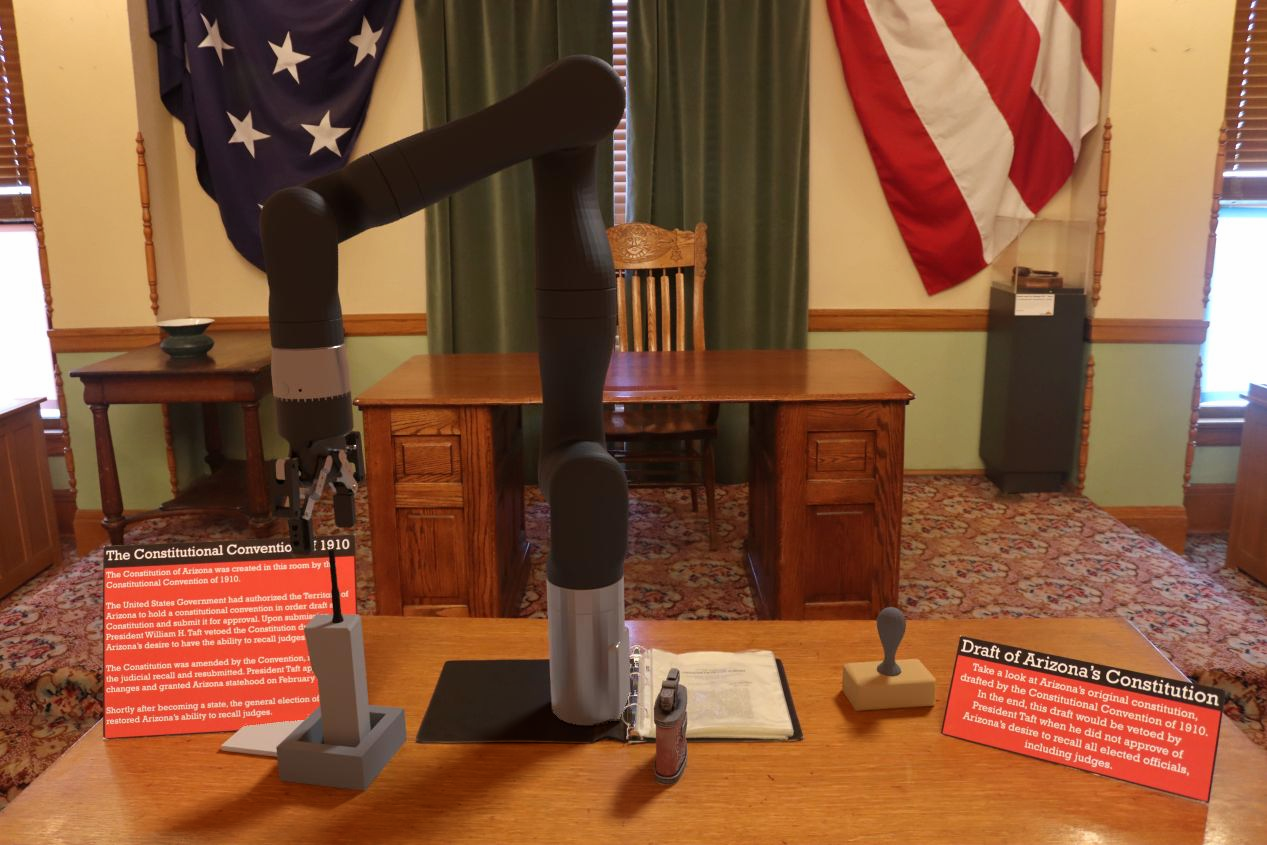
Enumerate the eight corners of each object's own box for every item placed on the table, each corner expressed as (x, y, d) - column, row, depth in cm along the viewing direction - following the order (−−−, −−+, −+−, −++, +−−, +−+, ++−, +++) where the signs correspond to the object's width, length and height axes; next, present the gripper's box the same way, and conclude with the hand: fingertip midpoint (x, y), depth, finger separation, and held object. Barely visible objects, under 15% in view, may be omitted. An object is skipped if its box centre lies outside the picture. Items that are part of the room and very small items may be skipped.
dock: (406, 739, 107) (404, 708, 106) (364, 790, 98) (361, 757, 97) (328, 731, 109) (325, 700, 108) (279, 780, 100) (276, 747, 99)
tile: (322, 720, 112) (321, 716, 112) (284, 757, 104) (283, 752, 104) (263, 714, 113) (262, 709, 113) (221, 750, 106) (221, 745, 106)
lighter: (680, 786, 98) (680, 700, 95) (649, 783, 98) (648, 697, 96) (691, 744, 105) (691, 664, 103) (662, 741, 106) (661, 661, 104)
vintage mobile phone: (329, 749, 105) (309, 542, 100) (372, 750, 105) (354, 542, 100) (317, 769, 102) (295, 554, 96) (362, 769, 102) (343, 554, 96)
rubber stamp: (916, 684, 118) (921, 596, 116) (935, 707, 113) (941, 615, 110) (841, 689, 117) (844, 601, 115) (856, 713, 112) (860, 620, 109)
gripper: (307, 403, 87) (322, 566, 90) (379, 378, 100) (389, 520, 104) (236, 401, 88) (253, 561, 92) (316, 376, 102) (328, 516, 106)
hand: (325, 539), depth 98 cm, fingers open, 8 cm apart
